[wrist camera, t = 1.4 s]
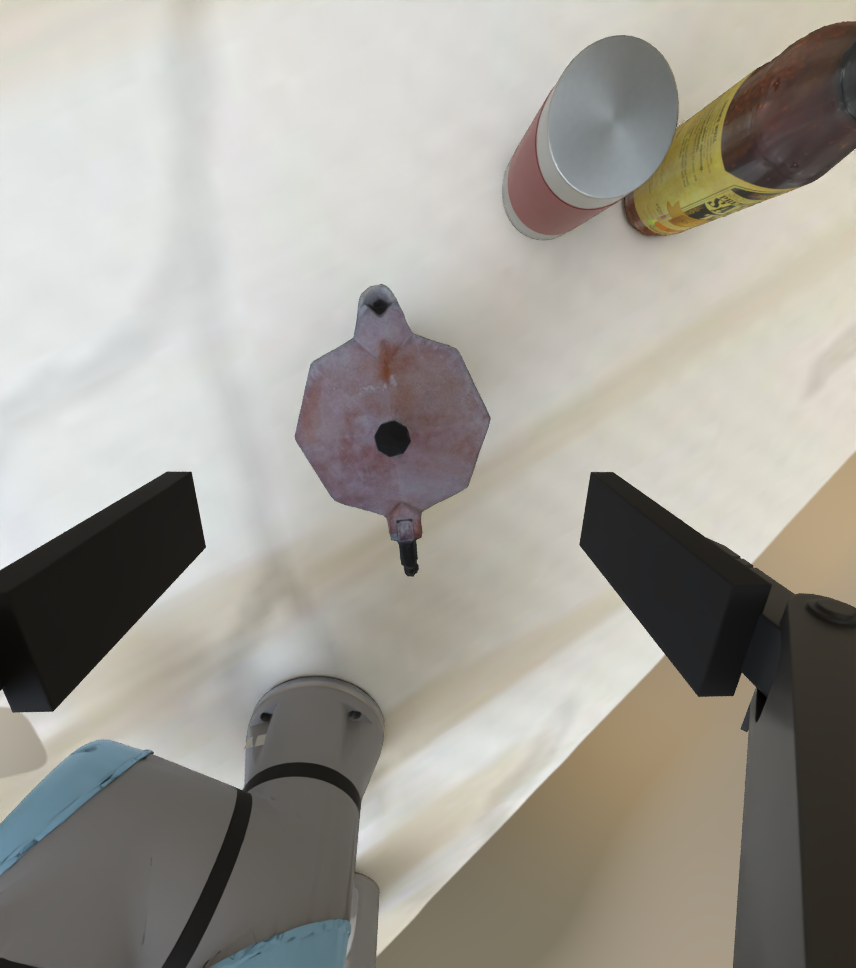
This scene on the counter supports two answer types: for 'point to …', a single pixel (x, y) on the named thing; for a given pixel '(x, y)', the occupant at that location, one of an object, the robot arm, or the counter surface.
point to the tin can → (592, 137)
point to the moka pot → (391, 421)
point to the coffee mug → (363, 924)
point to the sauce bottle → (757, 137)
